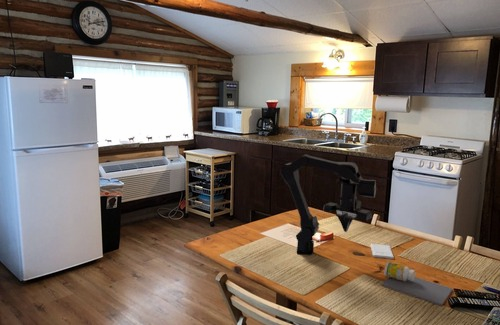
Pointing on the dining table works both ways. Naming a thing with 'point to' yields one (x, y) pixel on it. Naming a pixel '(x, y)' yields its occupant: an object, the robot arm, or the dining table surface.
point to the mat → (420, 289)
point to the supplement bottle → (399, 272)
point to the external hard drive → (381, 251)
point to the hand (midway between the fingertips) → (345, 231)
